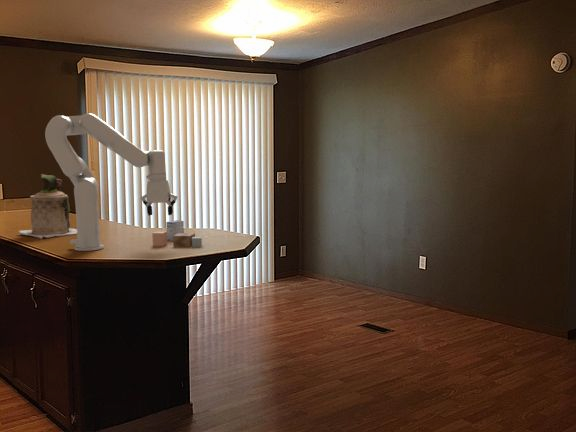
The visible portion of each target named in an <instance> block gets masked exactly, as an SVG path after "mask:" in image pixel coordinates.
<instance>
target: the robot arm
mask: <svg viewBox="0 0 576 432" xmlns="http://www.w3.org/2000/svg"><path fill="white" fill-rule="evenodd" d="M85 134H86V135H89V136H90V137H92V138H93V139H95V140H96V141H97V142H99V144H102V145H103V146H104V147H106V148H107V149H108V150H110V151H111V152H113V153H115V154H117V155H118V156H119V157H120V158H122V159H124V160H125V161H126V162H128V163H129V164H131V165H132V166H133V167H136V168H143V167H147V166H148V174H147V175H145V176H146V177H145V178H146V179H148V181H147V185H146V193H145V194H144V195H142V196H141V197H140V200H141V201H142V204H143V205H145V207H146V211H147V215H148V216H153V206H152V204H153V203H154V204H157V203H158V204H159V203H160V204H163V203H166V204H167V215H168V216H171V215H173V212H174V208H173V206H174V205H175V203H176V202H177V200H178V195H176V194H173V193H172V192H171V188H170V184H169V179H167V170H166V169H167V167H166V156H165V155H166V154H165V153H166V152H165V151H164V150H161V149H158V150H157V149H155V150H152V149H151V150H142V149H140V148H139V147H137V146H136V145H135V144H134V143H132V142H131V141H130V140H128V139H127V138H125V137H124V136H123V135H122V133H120V132H119V131H117V130H116V129H114V128H113V126H111V125H109V124H108V123H106V122H105V121H104V120H102V119H101V118H99V117H98V116H97V115H96V114H94V113H89V112H88V113H84V114H82V115H69V116H67V115H66V116H65V115H62V114H61V115H60V114H58V115H55V116H53V117H52V118H51V119H50V120H49V122H48V123H47V126H46V127H45V132H44V135H45V136H44V137H45V141H46V144H47V147H48V149H49V151H50V152H51V153H52V155H53V157H54V158H55V161H56V162H57V163H58V165H59V168H60V169H61V171H62V173H63V174H64V175H65V177H68V178H69V179H70V181H71V183H72V184H73V186H74V187H73V194H74V204H75V219H76V229H77V234H76V236H77V238H76V239H70V242H69V244H71V245H75V246H74V247H73V248H74V251H78V252H93V251H97V250H98V251H100V250H103V249H104V248H105V245H104V244H101V231H100V229H101V228H100V214H99V213H100V212H99V210H100V209H99V199H98V194H99V193H98V192H99V189H100V187H99V182H98V181H97V180H96V178H95V176H94V175H93V173H92V172H91V170H90V168H89V167H88V165H87V164H86V162H85V161H84V159H83V158H81V157H80V156H78V154H77V153H76V151H75V149H74V148H73V146H72V145H71V143H70V141H69V140H68V137H67V136H78V135H85Z"/></svg>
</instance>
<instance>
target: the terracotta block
mask: <svg viewBox="0 0 576 432" xmlns="http://www.w3.org/2000/svg"><path fill="white" fill-rule="evenodd" d="M151 234H152V247H165V246H168V239H167V231H154V232H152V233H151ZM164 245H165V246H164Z"/></svg>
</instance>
